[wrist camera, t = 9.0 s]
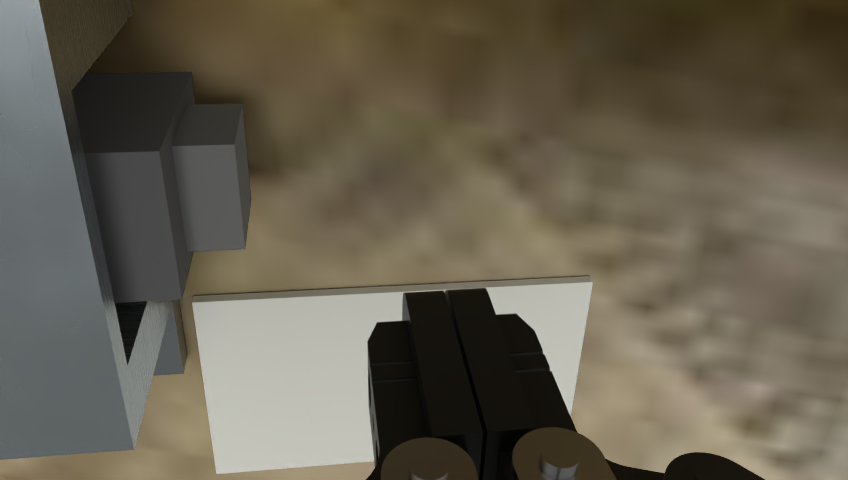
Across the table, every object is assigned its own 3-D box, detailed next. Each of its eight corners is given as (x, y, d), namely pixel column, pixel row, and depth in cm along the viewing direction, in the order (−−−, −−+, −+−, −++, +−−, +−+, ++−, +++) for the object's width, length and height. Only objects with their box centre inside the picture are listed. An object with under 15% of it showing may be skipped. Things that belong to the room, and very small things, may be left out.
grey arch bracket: (-74, -203, 18) (-285, -207, 12) (102, -197, 19) (-3, -197, 12) (68, 362, 26) (-7, 545, 20) (187, 355, 27) (151, 531, 21)
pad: (193, 295, 26) (192, 302, 26) (589, 275, 28) (593, 281, 27) (217, 466, 30) (216, 473, 29) (562, 438, 32) (565, 445, 31)
